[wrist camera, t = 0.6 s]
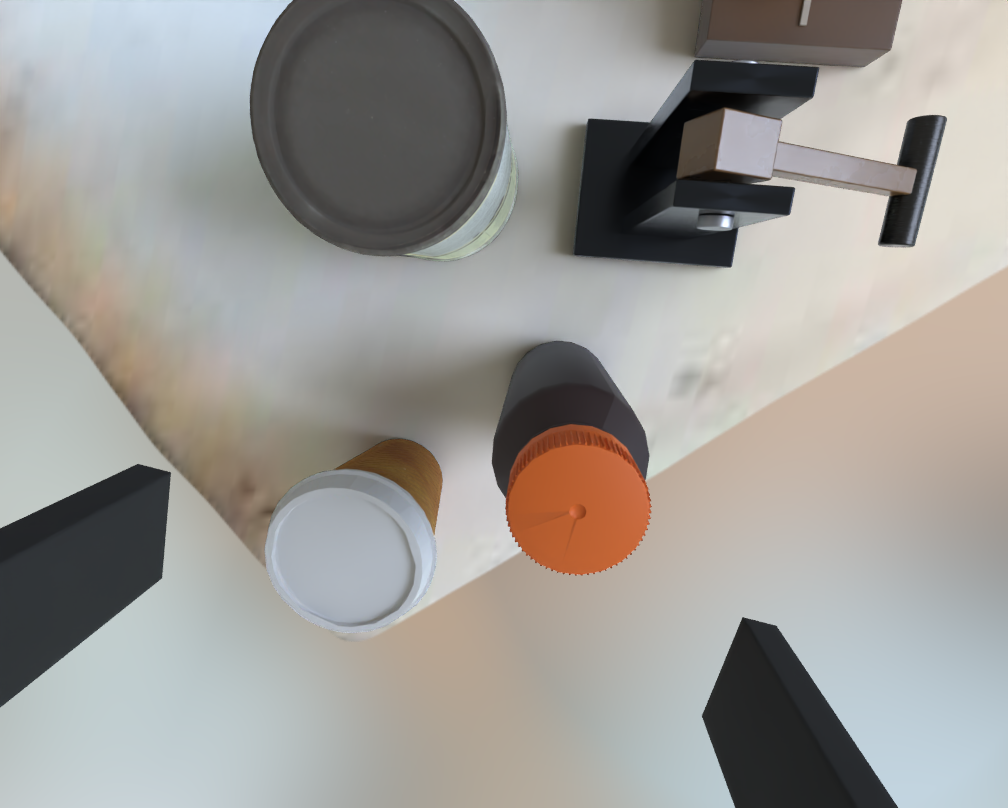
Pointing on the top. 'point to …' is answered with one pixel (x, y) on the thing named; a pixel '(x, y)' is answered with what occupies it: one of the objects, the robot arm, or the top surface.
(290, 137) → the coffee can
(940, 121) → the door handle
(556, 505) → the bottle
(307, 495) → the disposable coffee cup
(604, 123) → the bracket
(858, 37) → the plate
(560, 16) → the top surface
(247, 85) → the top surface
